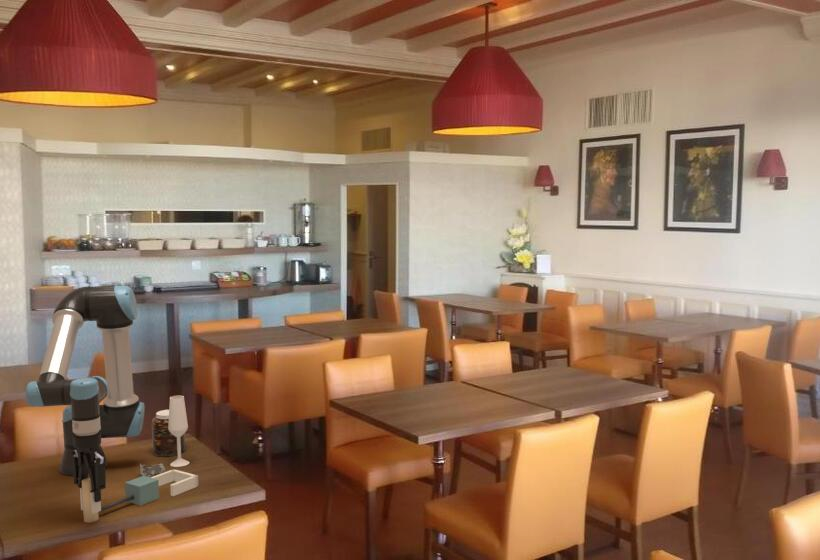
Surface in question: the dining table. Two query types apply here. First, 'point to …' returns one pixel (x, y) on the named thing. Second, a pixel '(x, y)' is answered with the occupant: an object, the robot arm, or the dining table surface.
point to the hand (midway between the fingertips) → (91, 510)
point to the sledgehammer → (135, 491)
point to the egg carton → (152, 470)
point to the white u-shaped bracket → (178, 481)
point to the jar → (164, 436)
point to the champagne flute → (178, 425)
